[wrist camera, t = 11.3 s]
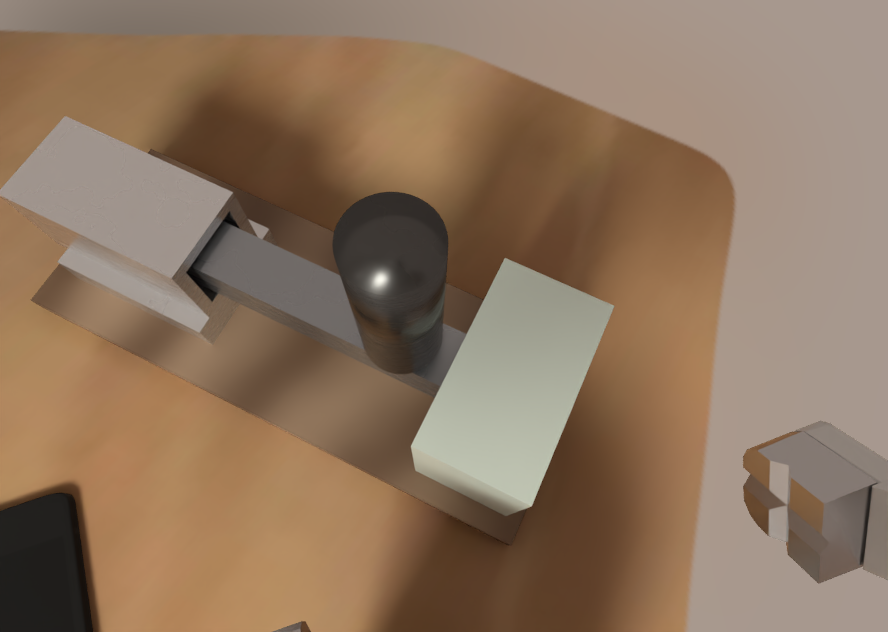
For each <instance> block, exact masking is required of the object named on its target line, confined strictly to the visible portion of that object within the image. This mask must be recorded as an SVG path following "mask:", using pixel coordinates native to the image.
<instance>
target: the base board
mask: <svg viewBox="0 0 888 632" xmlns="http://www.w3.org/2000/svg"><path fill="white" fill-rule="evenodd" d="M148 154H150V155H152V156H154V157H156V158H159V159H161V160H163V161H165V162H167V163H170V164H172V165H174V166H176V167H178V168H181V169H183V170H185V171H187V172H189V173H192V174H194V175H196V176H198V177H200V178H203V179H205V180H207V181H209V182H211V183H214V184H216V185H218V186H220V187H222V188H225V189H227V190H229V191H231V192H233V193H234V195H235V197H236V199H237V200H238V202H239V204H240V206H241V208H242V209H243V211H244V213H245V215H246V217H247V218H248V219H249V220H251V221H253V222H255V223H258V224H260V225H262V226H264V227H266V228H268V229H270V231H271V233H272V235H273V237H274V239H275V241H276V243H277V245H278V247H280V248H282V249H284V250H286V251H288V252H291V253H293V254H295V255H297V256H299V257H301V258H303V259H306V260H308V261H310V262H312V263H314V264H316V265H319V266H321V267H323V268H325V269H327V270H329V271H332V272H334V273H336V274H338V275H340V273H339V270H338V267H337V264H336V261H335V258H334V254H333V246H332V243H333V235H334V232H333V231H331V230H328V229H326V228H324V227H322V226H320V225H317V224H315V223H313V222H311V221H309V220H306V219H304V218H302V217H300V216H298V215H295V214H293V213H291V212H289V211H286V210H284V209H282V208H280V207H278V206H275V205H273V204H271V203H269V202H267V201H264V200H262V199H260V198H258V197H256V196H253V195H251V194H249V193H247V192H245V191H242V190H240V189H238V188H236V187H233V186H231V185H229V184H227V183H225V182H222V181H220V180H218V179H216V178H214V177H211V176H209V175H207V174H205V173H203V172H200V171H198V170H196V169H194V168H192V167H189V166H187V165H185V164H183V163H181V162H178V161H176V160H174V159H172V158H169V157H167V156H165V155H163V154H161V153H158V152H156V151H154V150H152V149H151V150H150V151H149V152H148ZM31 301H33V302H35V303H36V304H38V305H39V306H41V307H43V308H45V309H47V310H49V311H50V312H52V313H54V314H56V315H58V316H60V317H62V318H64V319H66V320H68V321H70V322H72V323H74V324H76V325H78V326H80V327H82V328H84V329H86V330H88V331H90V332H92V333H94V334H96V335H98V336H99V337H101V338H103V339H105V340H107V341H109V342H111V343H113V344H115V345H117V346H119V347H121V348H123V349H125V350H127V351H129V352H131V353H133V354H135V355H137V356H139V357H141V358H143V359H145V360H146V361H148V362H150V363H152V364H154V365H156V366H158V367H160V368H162V369H164V370H166V371H168V372H170V373H172V374H174V375H176V376H178V377H180V378H182V379H184V380H186V381H188V382H190V383H192V384H193V385H195V386H197V387H199V388H201V389H203V390H205V391H207V392H209V393H211V394H213V395H215V396H217V397H219V398H221V399H223V400H225V401H227V402H229V403H231V404H233V405H235V406H237V407H239V408H241V409H242V410H244V411H246V412H248V413H250V414H252V415H254V416H256V417H258V418H260V419H262V420H264V421H266V422H268V423H270V424H272V425H274V426H276V427H278V428H280V429H282V430H284V431H286V432H288V433H289V434H291V435H293V436H295V437H297V438H299V439H301V440H303V441H305V442H307V443H309V444H311V445H313V446H315V447H317V448H319V449H321V450H323V451H325V452H327V453H329V454H331V455H333V456H335V457H336V458H338V459H340V460H342V461H344V462H346V463H348V464H350V465H352V466H354V467H356V468H358V469H360V470H362V471H364V472H366V473H368V474H370V475H372V476H374V477H376V478H378V479H380V480H382V481H384V482H385V483H387V484H389V485H391V486H393V487H395V488H397V489H399V490H401V491H403V492H405V493H407V494H409V495H411V496H413V497H415V498H417V499H419V500H421V501H423V502H425V503H427V504H429V505H431V506H432V507H434V508H436V509H438V510H440V511H442V512H444V513H446V514H448V515H450V516H452V517H454V518H456V519H458V520H460V521H462V522H464V523H466V524H468V525H470V526H472V527H474V528H476V529H478V530H479V531H481V532H483V533H485V534H487V535H489V536H491V537H493V538H495V539H497V540H499V541H501V542H503V543H505V544H507V545H512V543H513V540H514V538H515V535H516V533H517V530H518V528H519V526H520V523H521V521H522V518H523V516H524V514H525V511H526V509H527V508H526V509H523V510H521V511H518V512H516V513H513V514H510V515H508V516H504V515H502V514H500V513H498V512H497V511H495V510H493V509H491V508H489V507H487V506H485V505H483V504H481V503H479V502H477V501H475V500H473V499H471V498H469V497H467V496H465V495H463V494H461V493H459V492H457V491H455V490H453V489H451V488H449V487H447V486H445V485H443V484H441V483H439V482H437V481H435V480H433V479H431V478H429V477H427V476H425V475H423V474H421V473H419V472H417V471H415V466H414V461H413V455H412V450H411V445H412V443H413V441H414V439H415V437H416V435H417V433H418V431H419V429H420V427H421V425H422V423H423V421H424V419H425V417H426V415H427V413H428V411H429V409H430V407H431V405H432V403H433V401H434V399H435V398H434V397H432V396H430V395H427V394H425V393H423V392H421V391H419V390H417V389H415V388H413V387H411V386H409V385H407V384H405V383H403V382H401V381H399V380H396V379H394V378H392V377H390V376H388V375H386V374H384V373H382V372H380V371H378V370H376V369H374V368H372V367H370V366H367V365H365V364H363V363H361V362H359V361H357V360H355V359H353V358H351V357H349V356H347V355H345V354H343V353H341V352H338V351H336V350H334V349H332V348H330V347H328V346H326V345H324V344H322V343H320V342H318V341H316V340H314V339H312V338H309V337H307V336H305V335H303V334H301V333H299V332H297V331H295V330H293V329H291V328H289V327H287V326H285V325H283V324H281V323H278V322H276V321H274V320H272V319H270V318H268V317H266V316H264V315H262V314H260V313H258V312H256V311H254V310H252V309H249V308H247V307H245V306H243V305H241V304H239V306H238V307H237V309H236V310H235V312H234V313H233V315H232V316H231V318H230V319H229V321H228V322H227V324H226V325H225V327H224V328H223V330H222V332H221V333H220V335H219V336H218V338H217V339H216V341H215V342H214V344H213V345H212V344H210V343H208V342H206V341H204V340H202V339H200V338H198V337H196V336H194V335H192V334H190V333H188V332H186V331H184V330H182V329H180V328H178V327H176V326H174V325H172V324H170V323H168V322H166V321H164V320H162V319H160V318H158V317H156V316H154V315H152V314H150V313H148V312H146V311H144V310H142V309H140V308H138V307H136V306H134V305H132V304H130V303H128V302H126V301H124V300H122V299H120V298H118V297H116V296H113V295H111V294H109V293H107V292H105V291H103V290H101V289H99V288H97V287H95V286H93V285H91V284H89V283H87V282H85V281H83V280H81V279H79V278H77V277H76V276H75V275H74V274H72V273H71V272H70V271H68V270H67V269H66V268H64V267H63V266H62V265H60V264H59V265H58V266H57V268H56V269H55V270H54V271H53V273H52V274H51V275H50V276H49V278H48V279H47V280H46V281H45V283H44V284H43V285H42V286H41V288H40V289H39V290H38V291H37V293H36V294H35V295H34V296H33V298H32V299H31ZM483 301H484V300H483V299H481V298H478V297H476V296H474V295H472V294H470V293H467V292H465V291H463V290H461V289H459V288H456V287H454V286H452V285H450V284H448V283H446V288H445V303H444V319H443V323H444V324H446V325H448V326H450V327H452V328H455V329H457V330H459V331H461V332H463V333H465V334H467V333H468V331H469V329H470V327H471V325H472V323H473V321H474V319H475V317H476V315H477V313H478V311H479V309H480V307H481V305H482V303H483Z"/></svg>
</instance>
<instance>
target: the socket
mask: <svg viewBox="0 0 888 632" xmlns="http://www.w3.org/2000/svg"><path fill="white" fill-rule="evenodd" d="M613 308H614V306H613V305H611V304H609V303H607V302H604V301H602V300H600V299H597V298H595V297H593V296H591V295H588V294H586V293H584V292H582V291H579V290H577V289H575V288H572V287H570V286H568V285H566V284H563V283H561V282H559V281H557V280H554V279H552V278H550V277H547V276H545V275H543V274H541V273H538V272H536V271H534V270H532V269H529V268H527V267H525V266H523V265H520V264H518V263H516V262H513V261H511V260H509V259H507V258H505V259H504V261H503V263H502V265H501V267H500V269H499V271H498V273H497V275H496V277H495V279H494V281H493V283H492V285H491V287H490V289H489V291H488V293H487V295H486V297H485V299H484V301H483V303H482V305H481V307H480V309H479V311H478V313H477V315H476V317H475V319H474V321H473V323H472V325H471V327H470V329H469V331H468V333H467V335H466V337H465V339H464V341H463V343H462V345H461V347H460V349H459V351H458V353H457V355H456V357H455V359H454V361H453V363H452V365H451V367H450V369H449V371H448V373H447V375H446V377H445V379H444V381H443V383H442V385H441V387H440V389H439V391H438V393H437V395H436V397H435V399H434V401H433V403H432V405H431V407H430V409H429V411H428V413H427V415H426V417H425V419H424V421H423V423H422V425H421V427H420V429H419V431H418V433H417V435H416V437H415V439H414V441H413V443H412V445H411V450H412V455H413V461H414V466H415V471H417V472H419V473H421V474H423V475H425V476H427V477H429V478H431V479H433V480H435V481H437V482H439V483H441V484H443V485H445V486H447V487H449V488H451V489H453V490H455V491H457V492H459V493H461V494H463V495H465V496H467V497H469V498H471V499H473V500H475V501H477V502H479V503H481V504H483V505H485V506H487V507H489V508H491V509H493V510H495V511H497V512H498V513H500V514H502V515H504V516H508V515H510V514H513V513H516V512H518V511H521V510H523V509H526V508H529V507H531V506H532V504H533V502H534V499H535V497H536V495H537V492H538V490H539V487H540V485H541V482H542V480H543V478H544V475H545V473H546V470H547V468H548V466H549V463H550V461H551V458H552V456H553V453H554V451H555V449H556V446H557V444H558V441H559V439H560V436H561V434H562V432H563V429H564V427H565V424H566V422H567V420H568V417H569V415H570V412H571V410H572V407H573V405H574V403H575V400H576V398H577V395H578V393H579V390H580V388H581V386H582V383H583V381H584V378H585V376H586V373H587V371H588V369H589V366H590V364H591V361H592V359H593V357H594V354H595V352H596V349H597V347H598V344H599V342H600V340H601V337H602V335H603V332H604V330H605V327H606V325H607V323H608V320H609V318H610V315H611V313H612V310H613Z"/></svg>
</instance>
